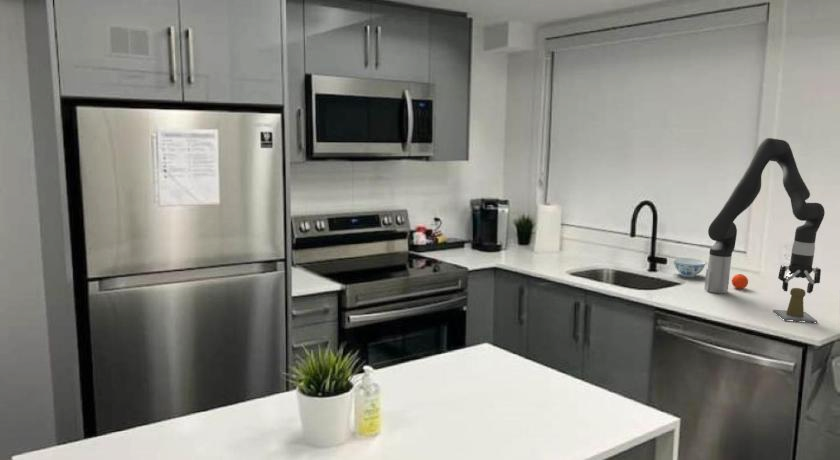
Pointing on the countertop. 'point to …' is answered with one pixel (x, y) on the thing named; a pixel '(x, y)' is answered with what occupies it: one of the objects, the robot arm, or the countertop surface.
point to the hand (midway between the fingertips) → (796, 291)
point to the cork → (796, 303)
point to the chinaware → (688, 266)
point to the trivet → (786, 317)
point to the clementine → (739, 281)
